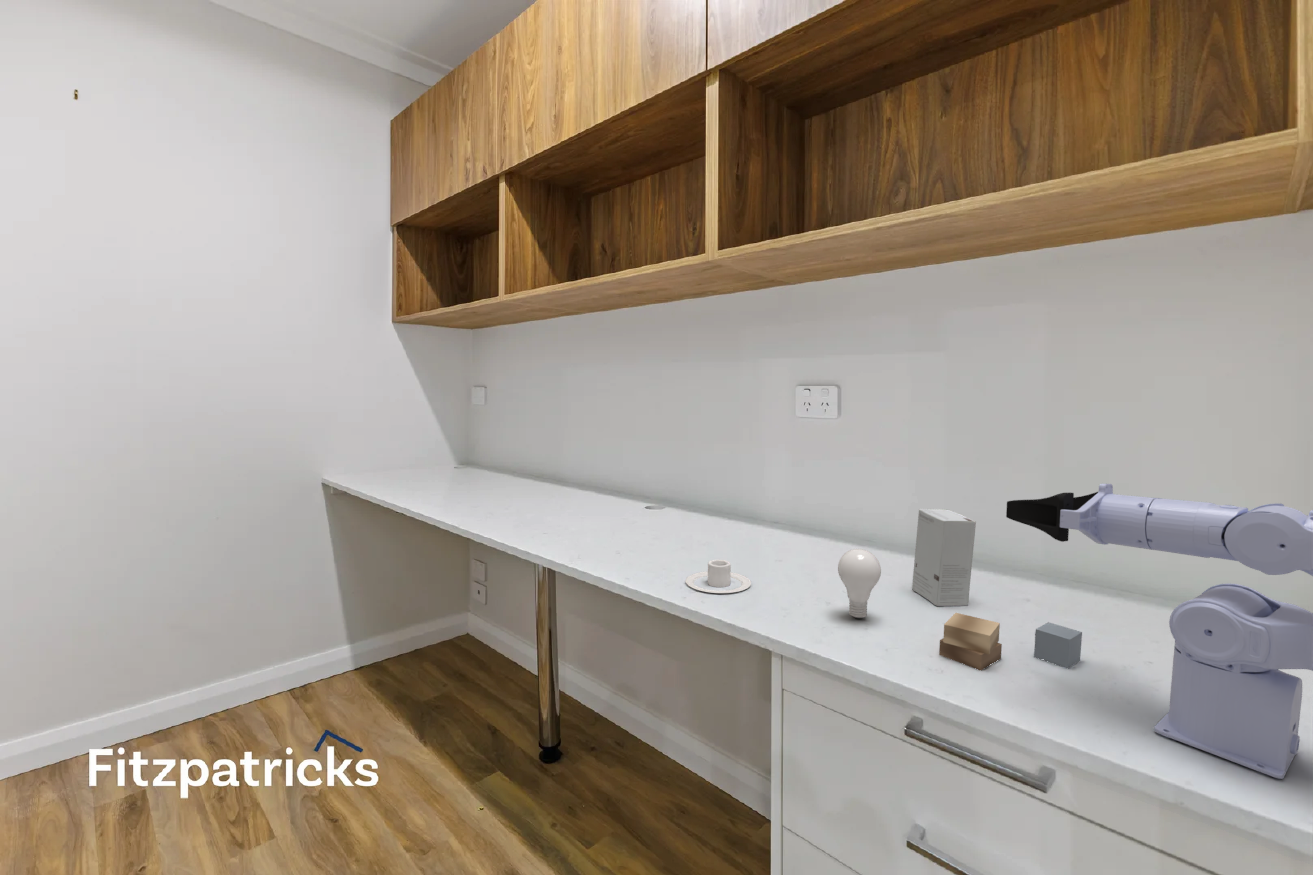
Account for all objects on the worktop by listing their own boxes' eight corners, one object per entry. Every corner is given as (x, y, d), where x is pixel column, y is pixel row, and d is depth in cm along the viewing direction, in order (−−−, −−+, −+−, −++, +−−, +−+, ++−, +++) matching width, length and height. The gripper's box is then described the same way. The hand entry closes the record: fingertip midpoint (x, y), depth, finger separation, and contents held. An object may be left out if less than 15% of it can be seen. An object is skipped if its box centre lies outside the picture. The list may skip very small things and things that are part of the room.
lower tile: (1000, 661, 79) (1001, 643, 79) (980, 673, 76) (981, 654, 76) (959, 647, 84) (960, 630, 83) (939, 657, 80) (939, 639, 80)
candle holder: (672, 583, 110) (672, 561, 110) (717, 570, 118) (717, 549, 117) (718, 602, 101) (719, 577, 100) (764, 586, 108) (765, 563, 108)
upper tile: (998, 640, 80) (999, 622, 80) (989, 654, 76) (990, 635, 76) (954, 629, 84) (955, 612, 83) (943, 642, 79) (944, 624, 79)
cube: (1080, 660, 79) (1082, 631, 78) (1067, 669, 76) (1069, 639, 76) (1046, 649, 82) (1048, 622, 82) (1033, 657, 80) (1035, 629, 79)
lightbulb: (871, 629, 88) (874, 558, 87) (830, 619, 92) (832, 550, 91) (884, 616, 94) (886, 548, 92) (844, 607, 97) (846, 541, 96)
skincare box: (911, 590, 105) (914, 508, 104) (943, 589, 106) (947, 507, 105) (938, 608, 97) (942, 519, 96) (972, 606, 98) (977, 518, 96)
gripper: (1181, 486, 69) (1051, 477, 80) (1129, 488, 61) (994, 477, 72) (1178, 547, 69) (1049, 529, 80) (1126, 556, 61) (992, 535, 72)
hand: (1023, 508), depth 76 cm, fingers open, 7 cm apart
